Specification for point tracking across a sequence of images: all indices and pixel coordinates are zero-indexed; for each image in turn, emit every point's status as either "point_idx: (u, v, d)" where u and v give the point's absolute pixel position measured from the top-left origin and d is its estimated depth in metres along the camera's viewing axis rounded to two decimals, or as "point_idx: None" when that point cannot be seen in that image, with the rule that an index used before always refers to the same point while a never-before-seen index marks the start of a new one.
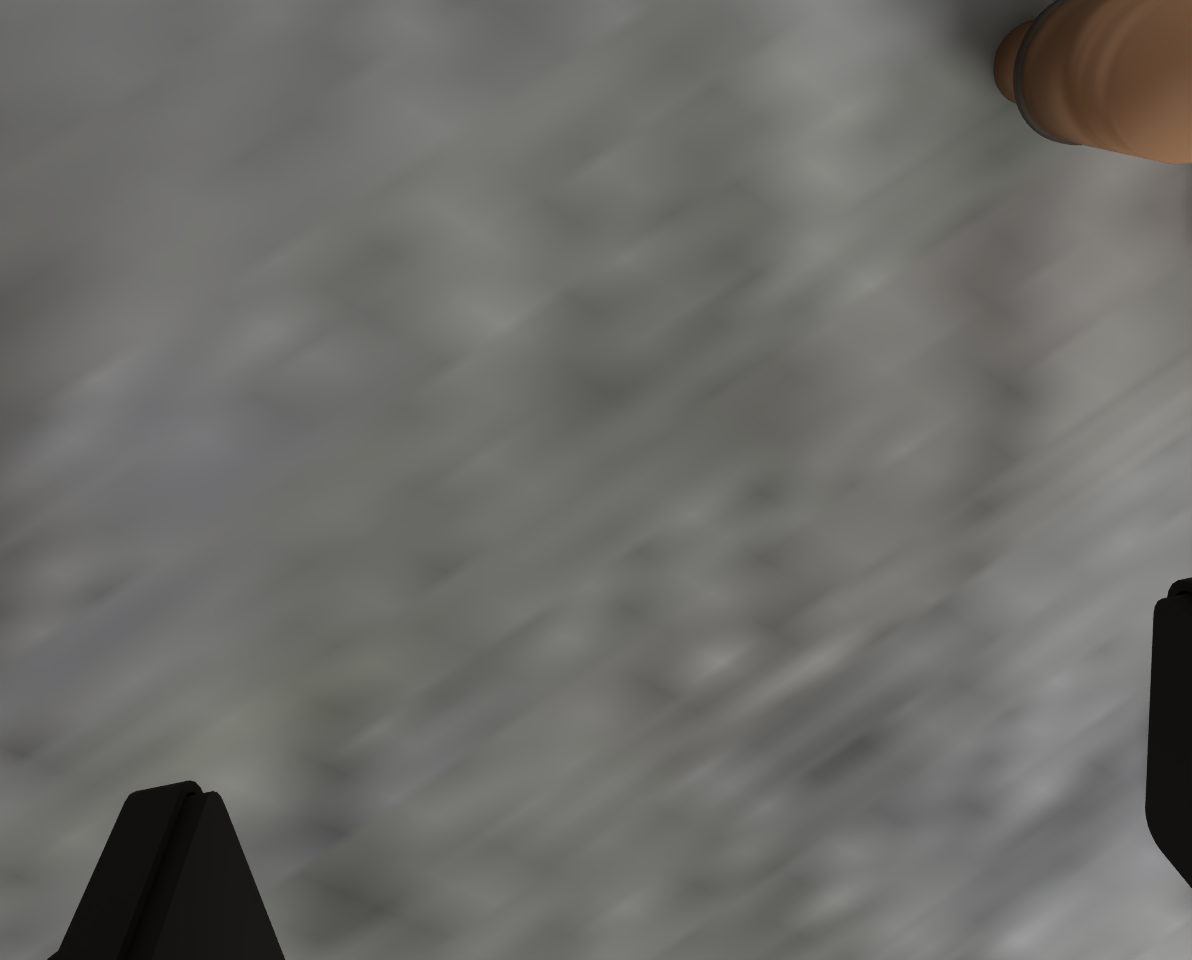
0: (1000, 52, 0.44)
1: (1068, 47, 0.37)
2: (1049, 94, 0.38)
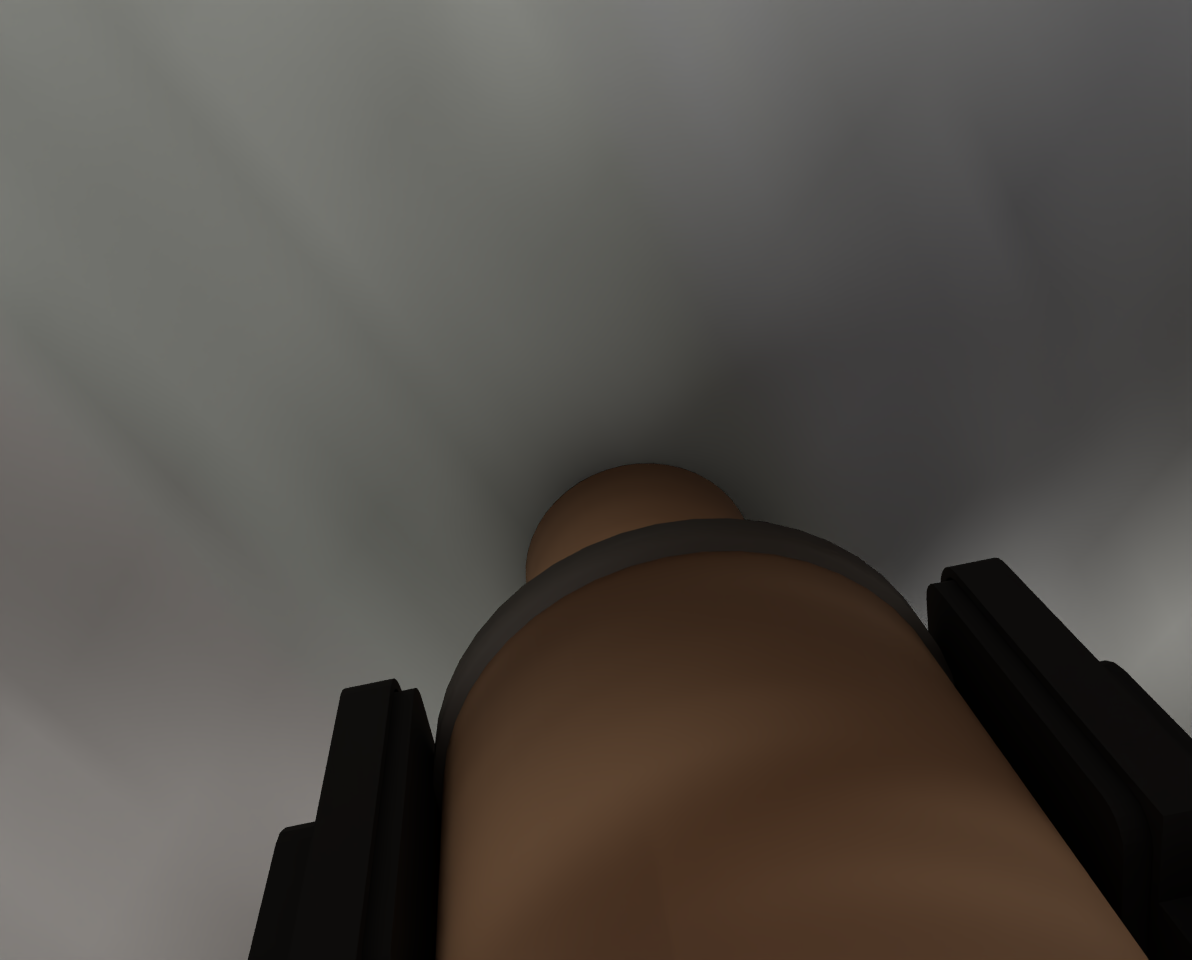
0: (676, 474, 0.14)
1: (903, 746, 0.08)
2: (665, 695, 0.08)
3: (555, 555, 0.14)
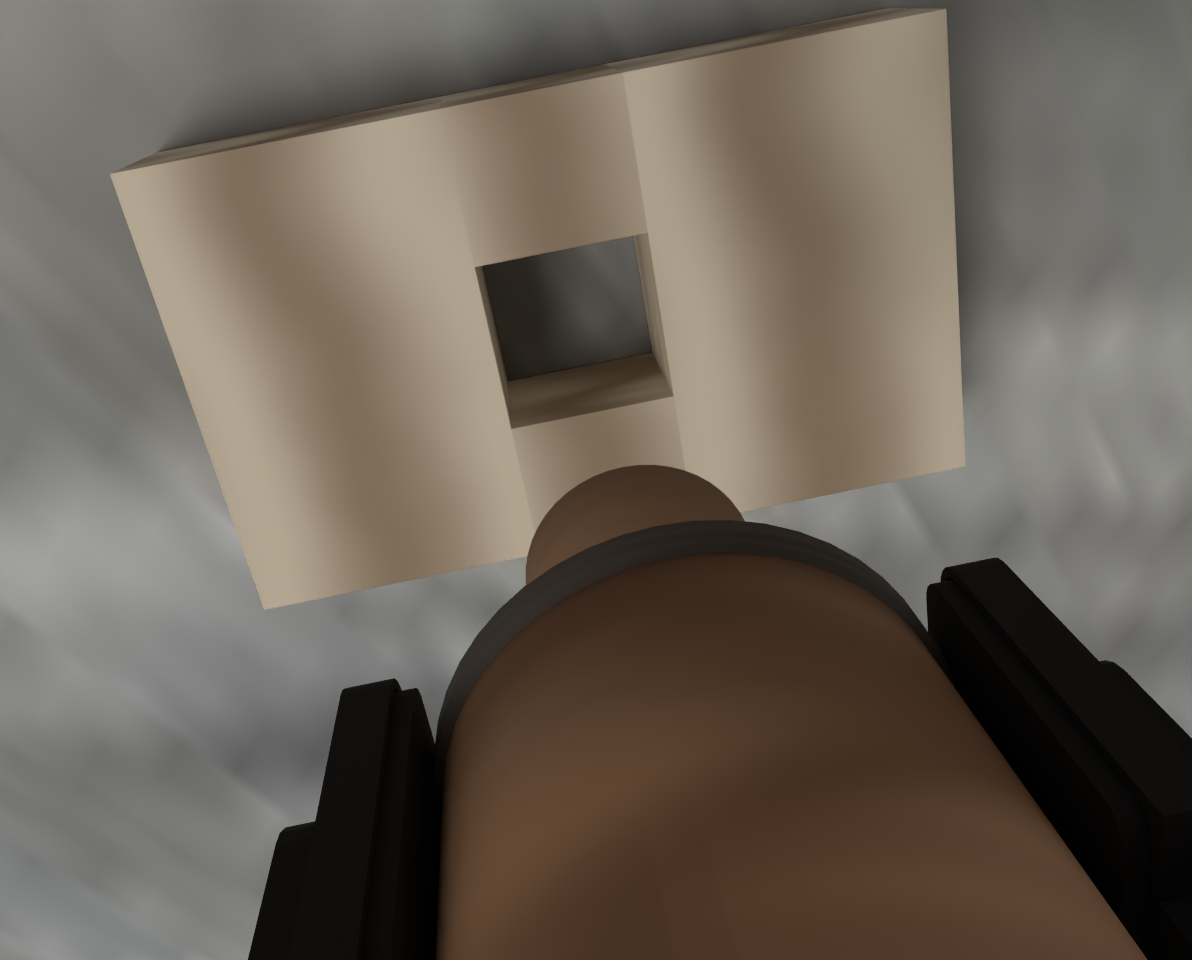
0: (676, 476, 0.14)
1: (904, 749, 0.08)
2: (665, 697, 0.08)
3: (555, 556, 0.14)
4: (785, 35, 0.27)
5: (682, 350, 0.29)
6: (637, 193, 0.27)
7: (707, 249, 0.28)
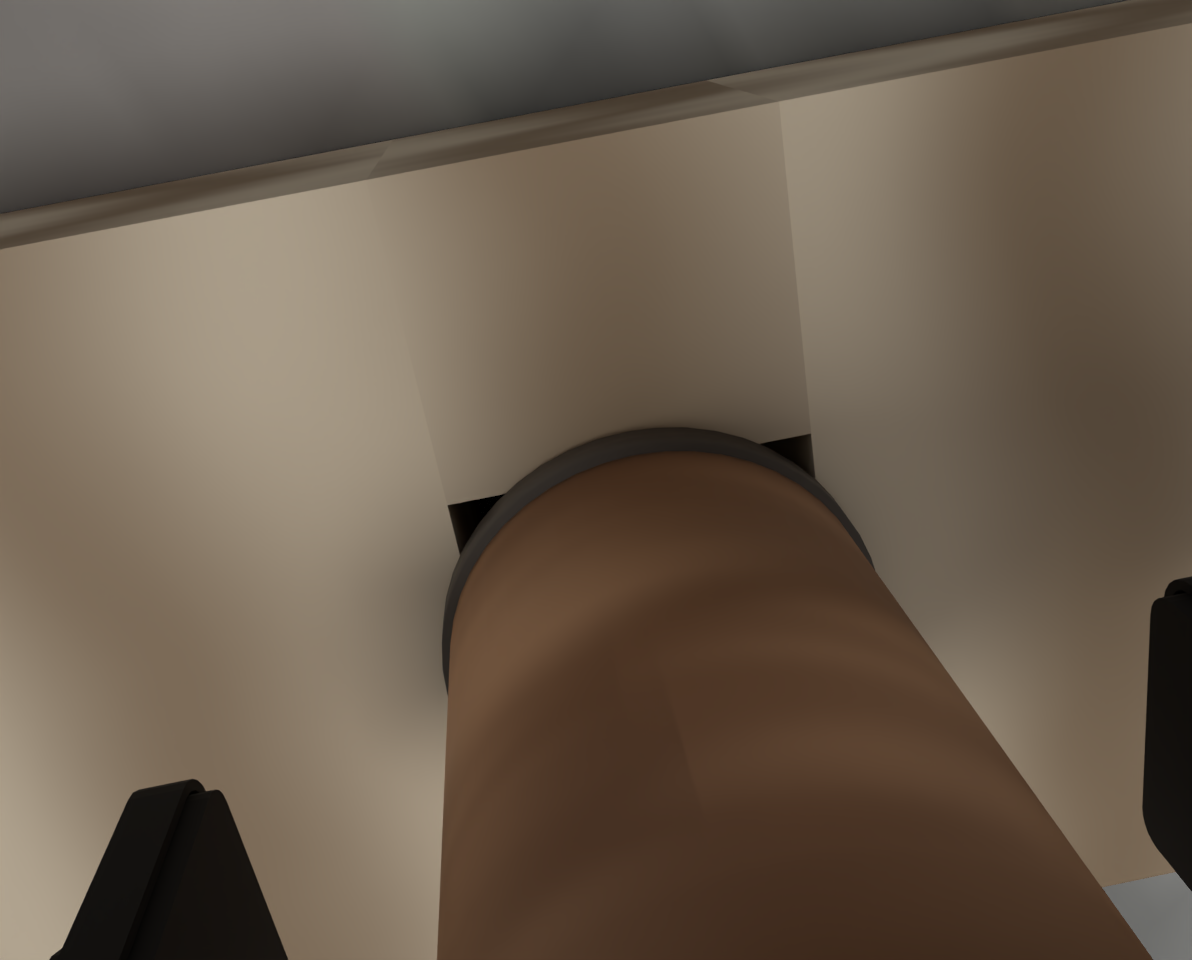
0: None
1: (807, 576, 0.10)
2: (626, 545, 0.10)
3: None
4: (1102, 24, 0.13)
5: None
6: (794, 356, 0.13)
7: (930, 464, 0.13)
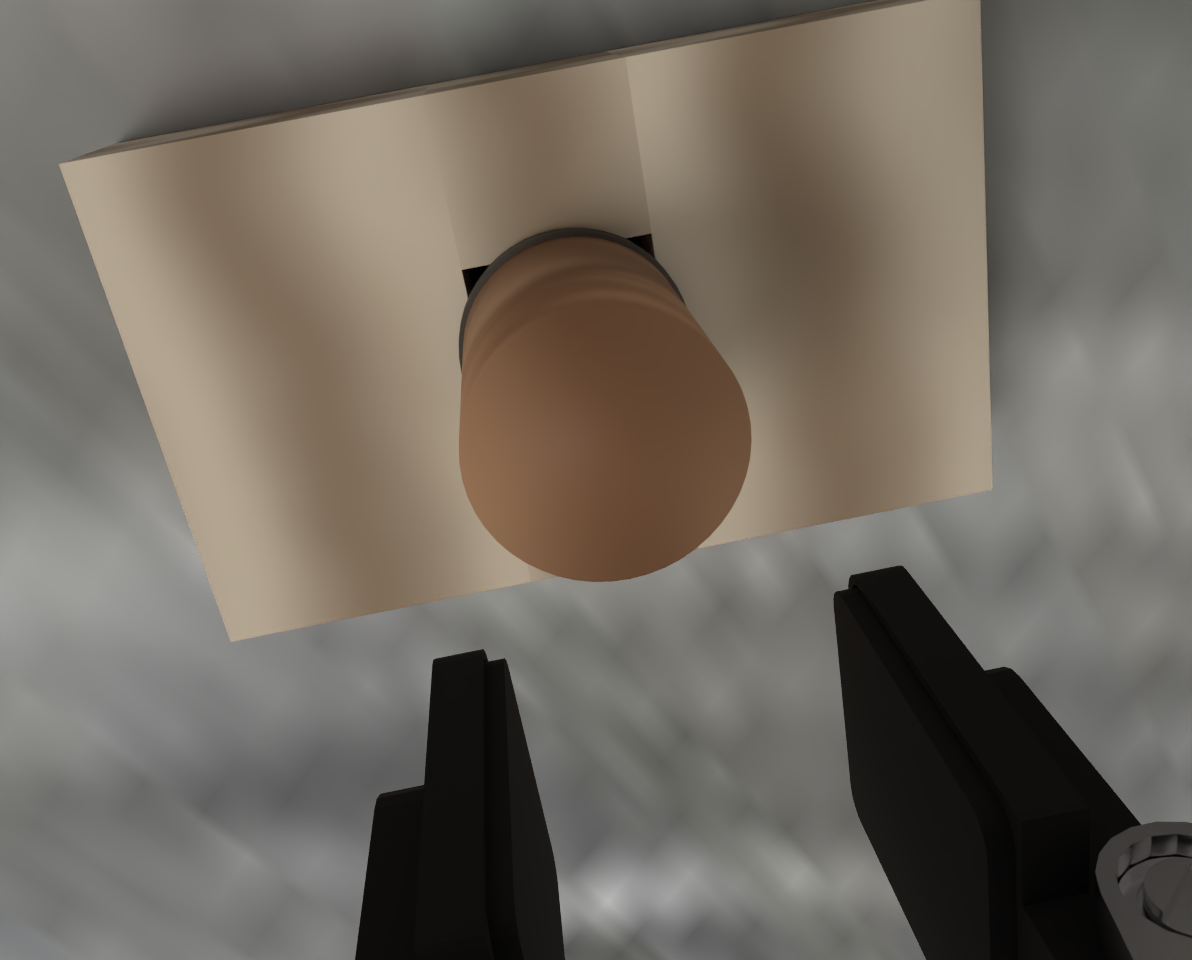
0: None
1: (626, 268, 0.22)
2: (546, 262, 0.22)
3: None
4: (802, 19, 0.25)
5: None
6: (640, 190, 0.24)
7: (716, 252, 0.25)
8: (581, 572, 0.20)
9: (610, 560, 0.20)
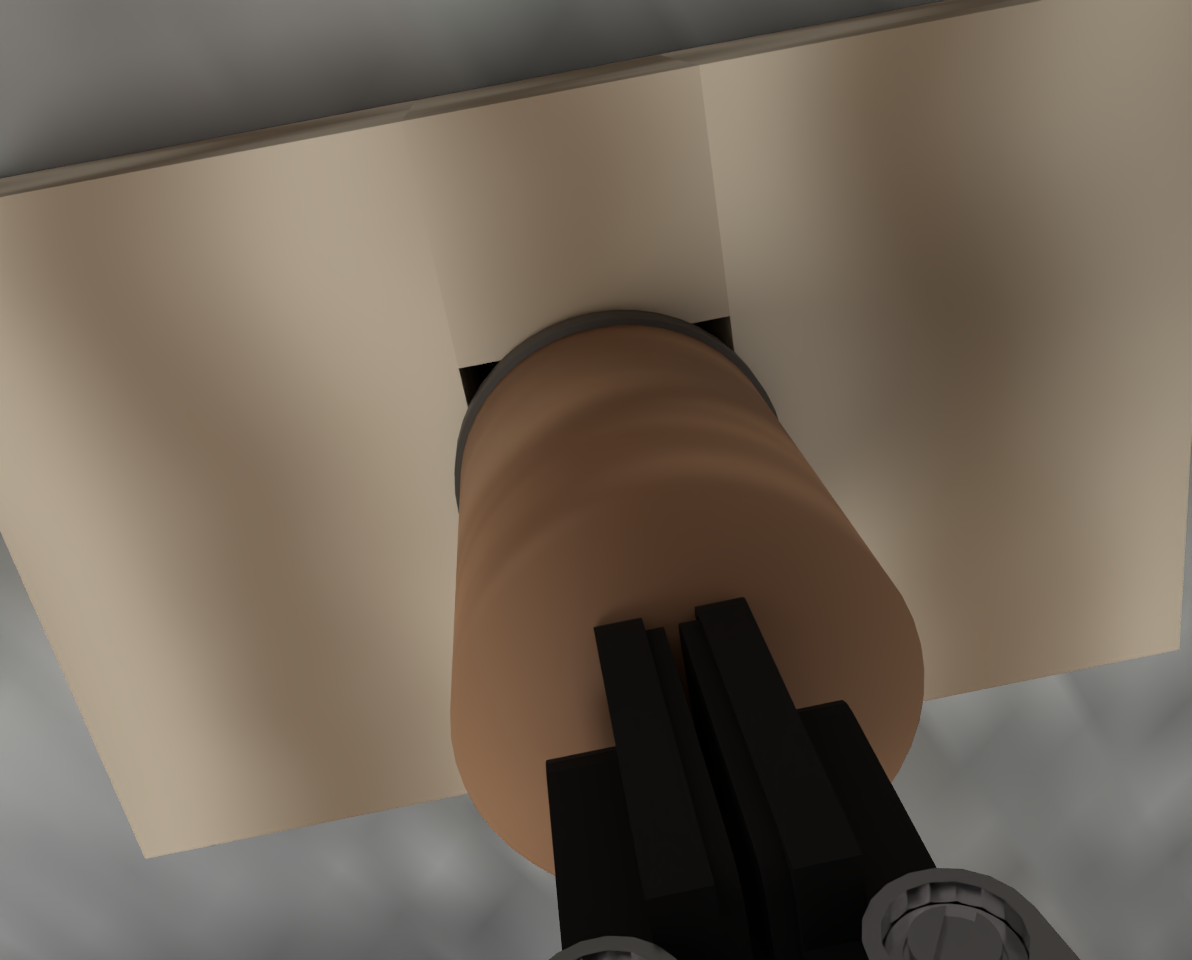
0: None
1: (708, 390, 0.14)
2: (585, 376, 0.15)
3: None
4: (947, 10, 0.17)
5: None
6: (716, 256, 0.17)
7: (821, 341, 0.18)
8: None
9: None
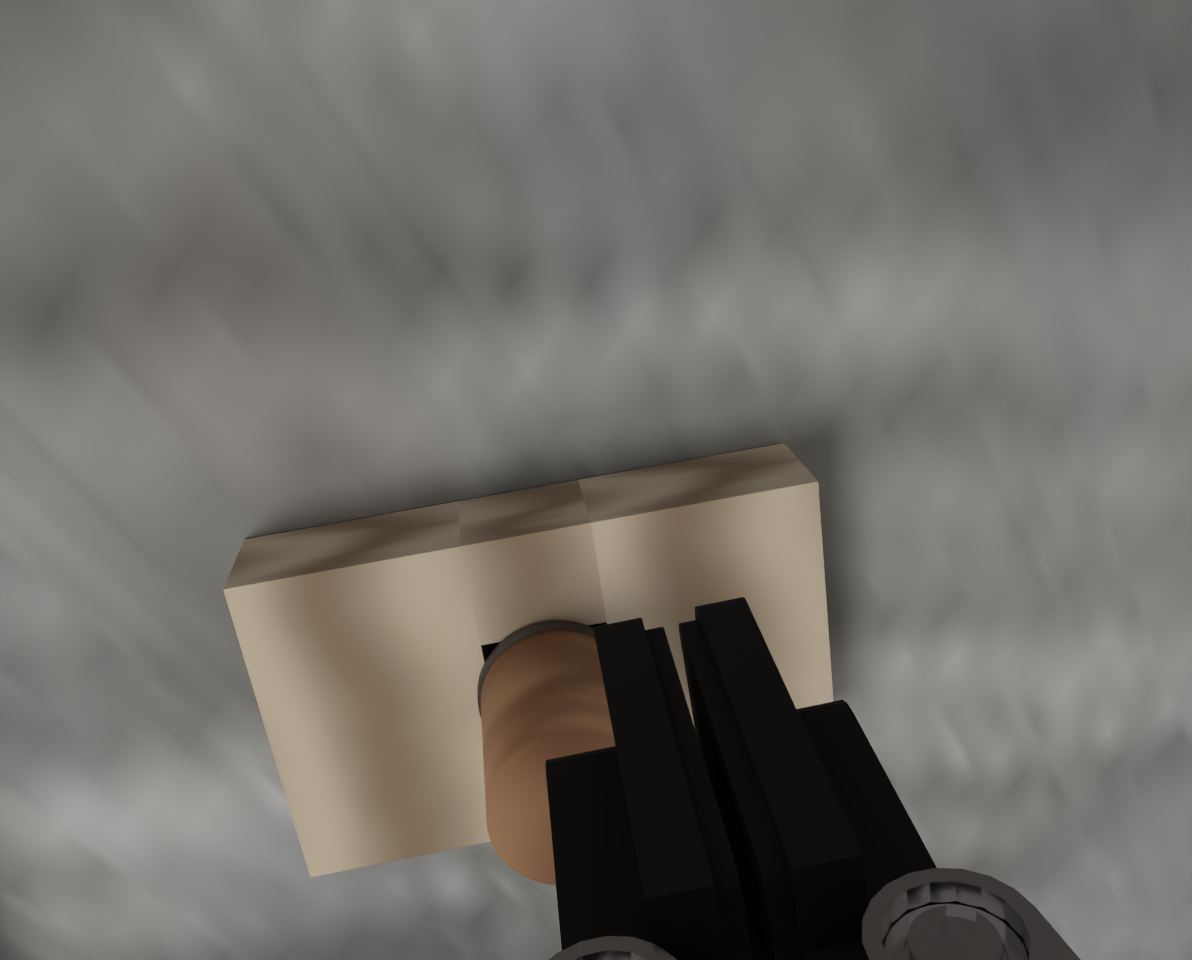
0: None
1: (589, 676, 0.35)
2: (538, 665, 0.35)
3: None
4: (707, 483, 0.38)
5: None
6: (599, 597, 0.37)
7: None
8: None
9: None
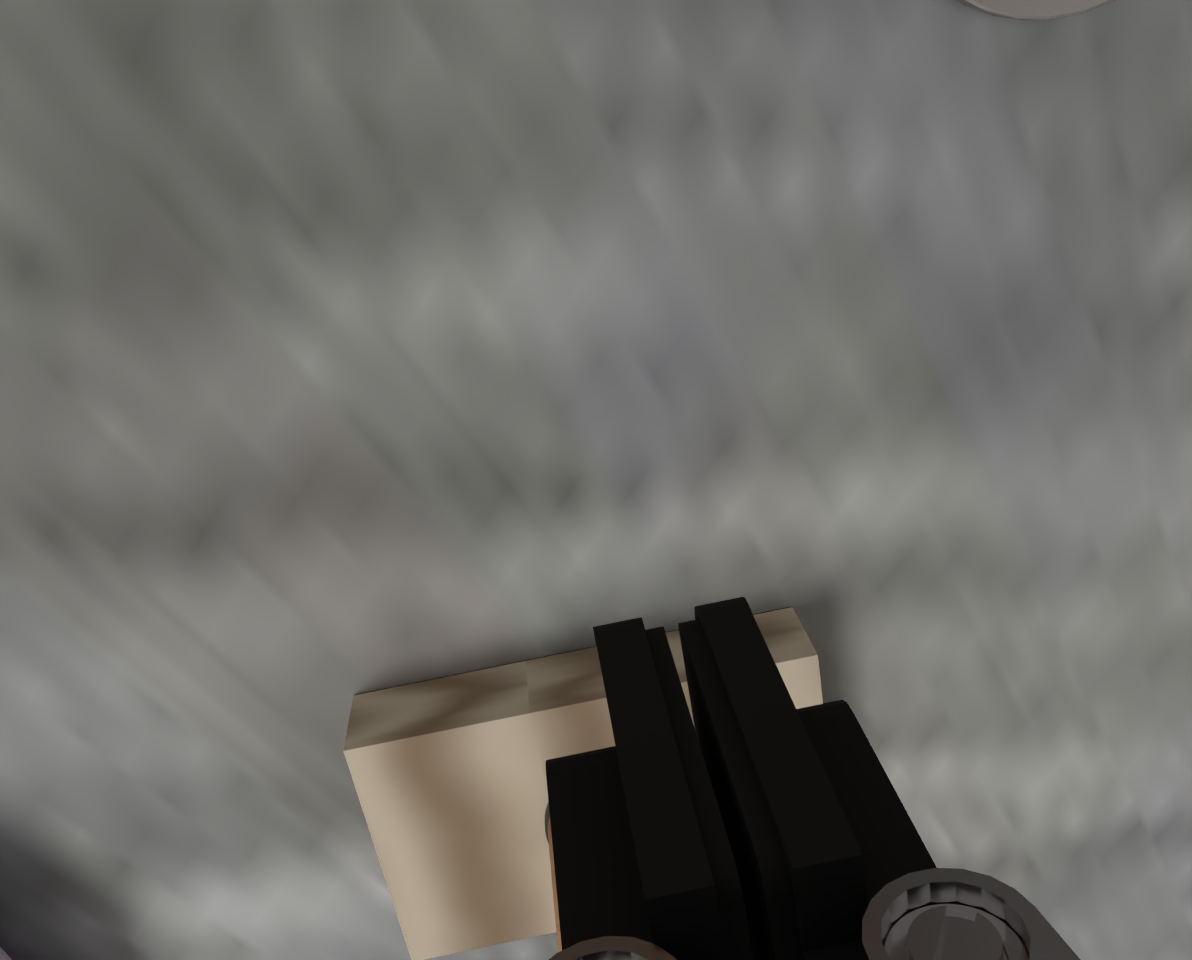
0: None
1: None
2: None
3: None
4: None
5: None
6: None
7: None
8: None
9: None
